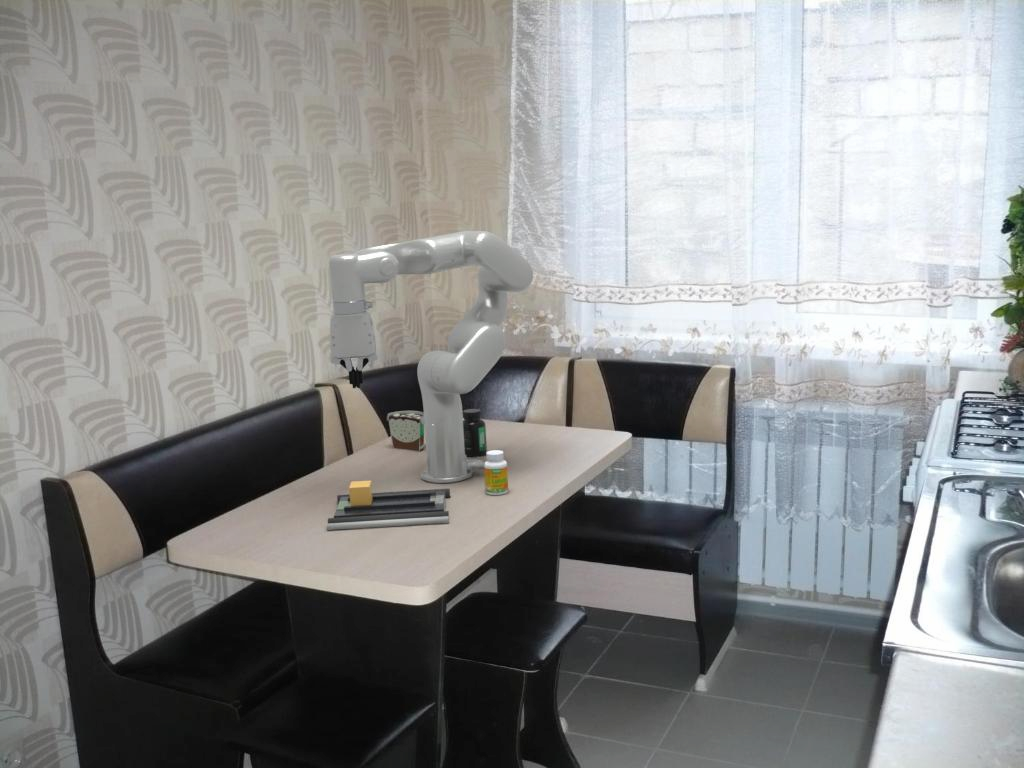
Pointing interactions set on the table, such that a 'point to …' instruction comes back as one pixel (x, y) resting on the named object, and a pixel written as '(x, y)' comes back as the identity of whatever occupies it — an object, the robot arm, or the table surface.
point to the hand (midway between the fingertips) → (356, 386)
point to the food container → (407, 430)
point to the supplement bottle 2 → (495, 473)
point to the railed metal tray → (394, 504)
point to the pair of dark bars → (390, 516)
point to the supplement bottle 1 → (474, 433)
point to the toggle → (360, 493)
